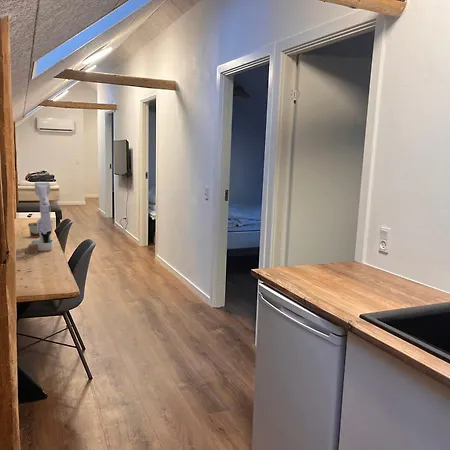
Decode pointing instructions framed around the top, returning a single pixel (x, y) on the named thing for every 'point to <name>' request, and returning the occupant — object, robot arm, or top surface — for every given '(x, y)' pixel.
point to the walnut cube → (33, 248)
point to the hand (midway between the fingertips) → (46, 242)
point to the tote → (43, 245)
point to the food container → (33, 229)
